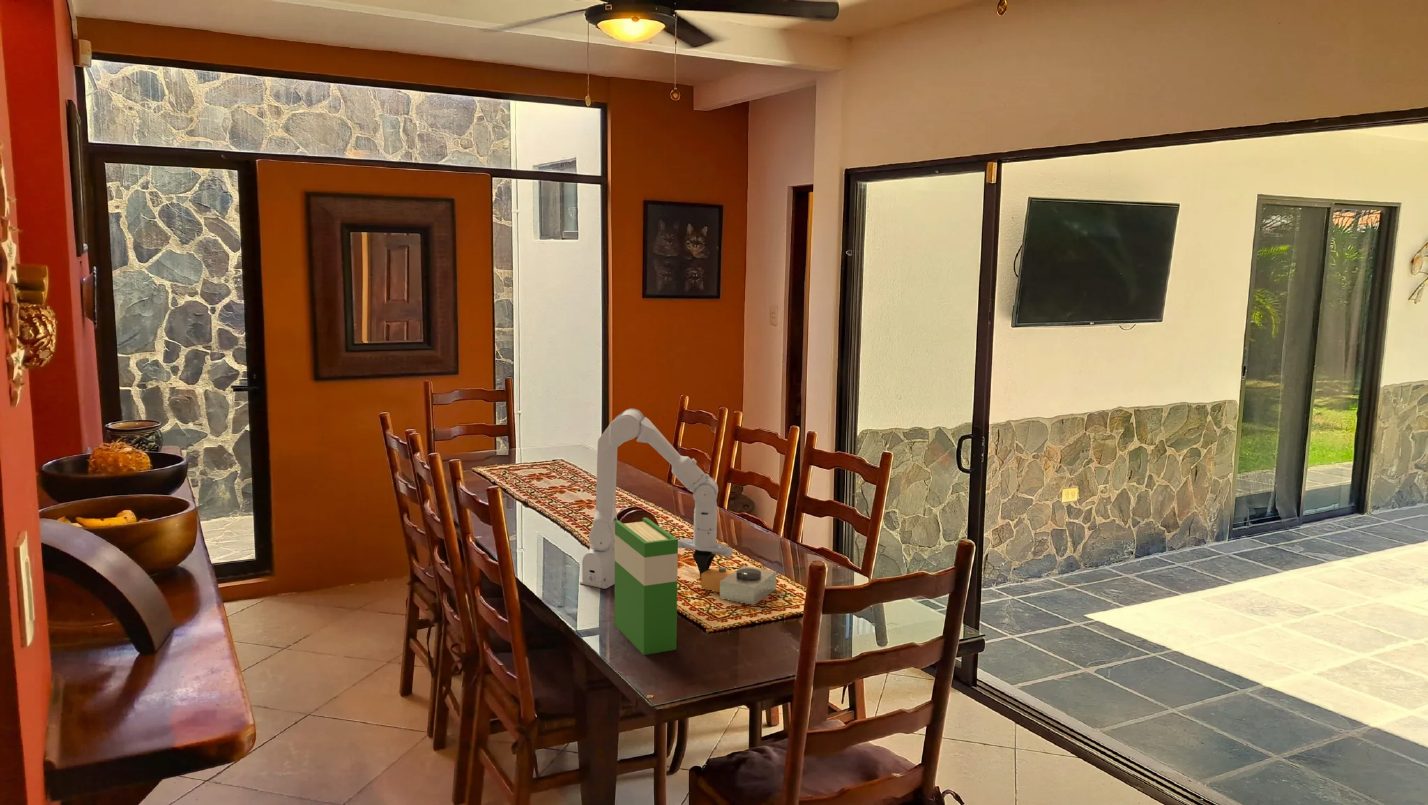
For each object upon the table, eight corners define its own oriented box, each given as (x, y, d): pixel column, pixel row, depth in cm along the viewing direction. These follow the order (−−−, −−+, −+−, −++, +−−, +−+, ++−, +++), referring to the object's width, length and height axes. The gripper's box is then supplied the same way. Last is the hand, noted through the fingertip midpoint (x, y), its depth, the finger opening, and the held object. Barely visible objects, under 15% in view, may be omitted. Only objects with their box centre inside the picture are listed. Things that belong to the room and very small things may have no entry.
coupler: (753, 605, 229) (754, 583, 228) (697, 594, 236) (698, 572, 235) (775, 589, 240) (776, 568, 239) (722, 578, 247) (722, 558, 246)
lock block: (726, 594, 236) (726, 576, 235) (701, 589, 239) (701, 571, 239) (737, 587, 241) (737, 569, 241) (712, 582, 245) (712, 564, 244)
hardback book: (614, 624, 216) (614, 520, 212) (645, 620, 219) (646, 517, 215) (643, 655, 200) (644, 543, 196) (676, 649, 203) (678, 539, 199)
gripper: (738, 527, 240) (736, 580, 242) (687, 519, 247) (686, 570, 249) (725, 534, 234) (724, 588, 236) (673, 525, 241) (672, 578, 243)
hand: (703, 579), depth 242 cm, fingers closed
